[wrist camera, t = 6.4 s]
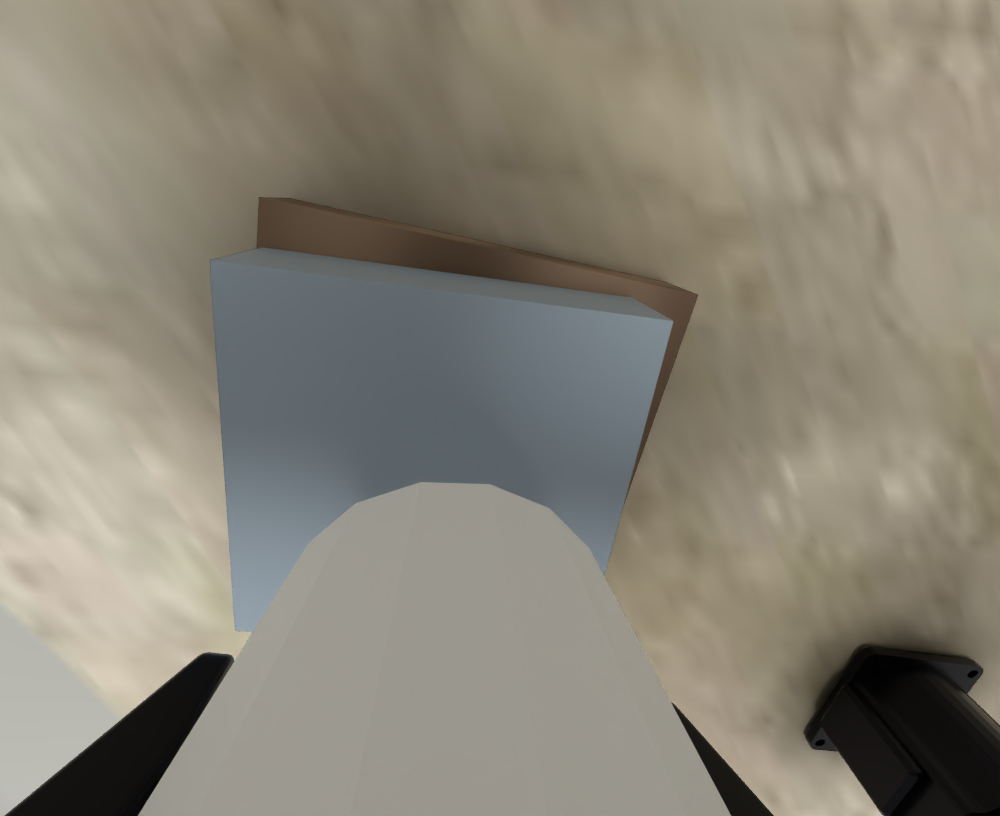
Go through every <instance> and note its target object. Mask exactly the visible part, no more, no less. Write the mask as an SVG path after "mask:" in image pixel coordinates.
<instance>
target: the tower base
mask: <svg viewBox="0 0 1000 816" xmlns="http://www.w3.org/2000/svg"><path fill="white" fill-rule="evenodd" d="M259 248H271V249H278V250H285V251H293V252H300V253H308V254H315V255H322V256H330V257H337V258H344V259H352V260H359V261H367V262H374V263H381V264H389V265H396V266H403V267H411V268H418V269H425V270H433V271H440V272H448V273H455V274H462V275H470V276H477V277H484V278H492V279H499V280H507V281H514V282H521V283H529V284H536V285H543V286H551V287H558V288H565V289H573V290H580V291H588V292H595V293H602V294H610V295H617V296H624V297H632V298H634V299H636V300H638V301H639V302H641V303H643V304H645V305H646V306H648V307H650V308H652V309H653V310H655V311H657V312H659V313H660V314H662V315H664V316H666V317H667V318H669V319H671V320H673V325H672V328H671V332H670V336H669V339H668V343H667V347H666V350H665V354H664V358H663V361H662V365H661V369H660V373H659V376H658V380H657V384H656V387H655V391H654V395H653V398H652V402H651V406H650V409H649V413H648V417H647V420H646V424H645V428H644V432H643V435H642V439H641V443H640V446H639V450H638V454H637V457H636V461H635V465H634V468H633V472H632V476H631V479H630V483H629V487H628V490H627V494H628V491H629V488H630V486H631V483H632V480H633V477H634V474H635V472H636V469H637V466H638V463H639V460H640V458H641V455H642V452H643V449H644V446H645V443H646V441H647V438H648V435H649V432H650V429H651V427H652V424H653V421H654V418H655V415H656V412H657V410H658V407H659V404H660V401H661V398H662V396H663V393H664V390H665V387H666V384H667V382H668V379H669V376H670V373H671V370H672V367H673V365H674V362H675V359H676V356H677V353H678V351H679V348H680V345H681V342H682V339H683V336H684V334H685V331H686V328H687V325H688V322H689V320H690V317H691V314H692V311H693V308H694V306H695V303H696V300H697V297H698V295H697V294H695V293H692V292H690V291H687V290H685V289H682V288H679V287H677V286H674V285H672V284H669V283H667V282H662V281H658V280H653V279H649V278H644V277H640V276H636V275H631V274H627V273H622V272H618V271H613V270H609V269H604V268H600V267H595V266H591V265H586V264H582V263H577V262H573V261H568V260H564V259H559V258H555V257H551V256H546V255H542V254H537V253H533V252H528V251H524V250H519V249H515V248H510V247H506V246H501V245H497V244H492V243H488V242H483V241H479V240H474V239H470V238H466V237H461V236H457V235H452V234H448V233H443V232H439V231H434V230H430V229H425V228H421V227H416V226H412V225H407V224H403V223H398V222H394V221H389V220H385V219H381V218H376V217H372V216H367V215H363V214H358V213H354V212H349V211H345V210H340V209H336V208H331V207H327V206H322V205H318V204H313V203H309V202H304V201H300V200H296V199H291V198H264V197H259V207H258V231H257V249H259ZM627 494H626V497H627ZM625 500H626V498H625ZM624 503H625V502H624Z"/></svg>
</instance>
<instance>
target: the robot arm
mask: <svg viewBox="0 0 1000 816" xmlns="http://www.w3.org/2000/svg"><path fill="white" fill-rule="evenodd" d="M233 663H234V658H233V656H232V655H229V654H220V653H210V652H208V653H203V654H201V655H199V656H198V657H197V658H195V659H194V660H193V661H192V662H190V663H189V664H188V665H187V666H186V667H184V668H183V669H182V670H181V671H180V672H178V673H177V674H176V675H175V676H173V677H172V678H171V679H170V680H169V681H167V682H166V683H165V684H164V685H163V686H161V687H160V688H159V689H158V690H157V691H155V692H154V693H153V694H152V695H150V696H149V697H148V698H147V699H146V700H144V701H143V702H142V703H141V704H140V705H138V706H137V707H136V708H135V709H133V710H132V711H131V712H130V713H129V714H127V715H126V716H125V717H124V718H123V719H121V720H120V721H119V722H118V723H117V724H115V725H114V726H113V727H112V728H111V729H109V730H108V731H107V732H106V733H104V734H103V735H102V736H101V737H100V738H98V739H97V740H96V741H95V742H93V743H92V744H91V745H90V746H89V747H87V748H86V749H85V750H84V751H83V752H81V753H80V754H79V755H78V756H77V757H75V758H74V759H73V760H72V761H70V762H69V763H68V764H67V765H66V766H64V767H63V768H62V769H61V770H59V771H58V772H57V773H56V774H55V775H53V776H52V777H51V778H50V779H49V780H47V781H46V782H45V783H44V784H43V785H41V786H40V787H39V788H38V789H36V790H35V791H34V792H33V793H32V794H31V795H29V796H28V797H27V798H26V799H24V800H23V801H22V802H21V803H19V804H18V805H17V806H16V807H15V808H13V809H12V810H11V811H10V812H9V813H7V814H6V815H5V816H138V815H139V813H140V812H141V810H142V808H143V807H144V805H145V804H146V802H147V800H148V799H149V797H150V796H151V794H152V792H153V791H154V789H155V788H156V786H157V784H158V783H159V781H160V780H161V778H162V776H163V775H164V773H165V772H166V770H167V768H168V767H169V765H170V764H171V762H172V760H173V759H174V757H175V756H176V754H177V752H178V751H179V749H180V748H181V746H182V744H183V743H184V741H185V740H186V738H187V736H188V735H189V733H190V732H191V730H192V728H193V727H194V725H195V724H196V722H197V720H198V719H199V717H200V716H201V714H202V712H203V711H204V709H205V708H206V706H207V704H208V703H209V701H210V700H211V698H212V696H213V695H214V693H215V692H216V690H217V688H218V687H219V685H220V684H221V682H222V680H223V679H224V677H225V676H226V674H227V672H228V671H229V669H230V668H231V666H232V664H233ZM982 673H983V669H982V668H981V667H980V666H979V665H978V664H977V663H976V662H975V661H974V660H971V659H964V658H956V657H948V656H940V655H932V654H923V653H915V652H907V651H899V650H891V649H883V648H875V647H867V648H864V649H862V650H861V651H860V652H859V653H858V654H857V655H856V657H855V659H854V660H853V662H852V663H851V665H850V666H849V668H848V670H847V671H846V673H845V674H844V676H843V677H842V679H841V681H840V682H839V684H838V685H837V687H836V688H835V690H834V692H833V693H832V695H831V696H830V698H829V699H828V701H827V703H826V704H825V706H824V707H823V709H822V710H821V712H820V714H819V715H818V717H817V718H816V720H815V721H814V723H813V725H812V726H811V728H810V729H809V731H808V732H807V734H806V740H807V742H808V743H809V745H810V746H811V747H812V748H813V749H816V750H827V751H838V752H839V753H840V755H841V756H842V757H843V759H844V760H845V762H846V763H847V765H848V766H849V768H850V769H851V771H852V772H853V773H854V775H855V776H856V778H857V779H858V781H859V782H860V784H861V785H862V787H863V788H864V789H865V791H866V792H867V794H868V795H869V797H870V798H871V800H872V801H873V803H874V804H875V805H876V807H877V808H878V810H879V811H880V813H881V814H882V815H883V816H1000V725H999V724H998V723H997V722H996V721H995V720H994V719H993V718H992V717H991V716H990V715H989V714H988V713H987V712H986V711H984V710H983V709H982V708H981V707H980V706H979V705H978V704H977V703H976V702H975V701H974V700H973V699H972V698H971V697H970V696H969V695H968V694H967V693H968V692H969V691H970V689H971V688H972V687H973V685H974V684H975V683H976V681H977V680H978V679H979V678H980V676H981V675H982ZM671 703H672V702H671ZM672 705H673V707H674V709H675V711H676V713H677V715H678V717H679V718H680V720H681V722H682V724H683V726H684V728H685V730H686V732H687V734H688V735H689V737H690V739H691V741H692V743H693V745H694V747H695V749H696V750H697V752H698V754H699V756H700V758H701V760H702V762H703V764H704V766H705V767H706V769H707V771H708V773H709V775H710V777H711V779H712V781H713V783H714V784H715V786H716V788H717V790H718V792H719V794H720V796H721V798H722V799H723V801H724V803H725V805H726V807H727V809H728V811H729V813H730V815H731V816H773V814H772V813H771V812H770V811H769V810H768V809H767V808H766V807H765V805H764V804H763V803H762V802H761V801H760V800H759V799H758V798H757V796H756V795H755V794H754V793H753V792H752V791H751V790H750V789H749V787H748V786H747V785H746V784H745V783H744V782H743V781H742V780H741V778H740V777H739V776H738V775H737V774H736V773H735V772H734V771H733V769H732V768H731V767H730V766H729V765H728V764H727V763H726V762H725V760H724V759H723V758H722V757H721V756H720V755H719V754H718V753H717V751H716V750H715V749H714V748H713V747H712V746H711V745H710V744H709V743H708V741H707V740H706V739H705V738H704V737H703V736H702V735H701V734H700V732H699V731H698V730H697V729H696V728H695V727H694V726H693V725H692V723H691V722H690V721H689V720H688V719H687V718H686V717H685V716H684V714H683V713H682V712H681V711H680V710H679V709H678V708H677V707H676V706H675V705H674V704H673V703H672Z"/></svg>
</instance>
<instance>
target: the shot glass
mask: <svg viewBox="0 0 1000 816" xmlns="http://www.w3.org/2000/svg"><path fill="white" fill-rule="evenodd" d="M138 816H731V815H730V813H729V811H728V809H727V807H726V805H725V803H724V801H723V799H722V798H721V796H720V794H719V792H718V790H717V788H716V786H715V784H714V783H713V781H712V779H711V777H710V775H709V773H708V771H707V769H706V767H705V766H704V764H703V762H702V760H701V758H700V756H699V754H698V752H697V750H696V749H695V747H694V745H693V743H692V741H691V739H690V737H689V735H688V734H687V732H686V730H685V728H684V726H683V724H682V722H681V720H680V718H679V717H678V715H677V713H676V711H675V709H674V707H673V705H672V703H671V701H670V700H669V698H668V696H667V694H666V692H665V690H664V688H663V686H662V685H661V683H660V681H659V679H658V677H657V675H656V673H655V671H654V669H653V668H652V666H651V664H650V662H649V660H648V658H647V656H646V654H645V653H644V651H643V649H642V647H641V645H640V643H639V641H638V639H637V637H636V636H635V634H634V632H633V630H632V628H631V626H630V624H629V622H628V620H627V619H626V617H625V615H624V613H623V611H622V609H621V607H620V605H619V604H618V602H617V600H616V598H615V596H614V594H613V592H612V590H611V588H610V587H609V585H608V583H607V581H606V579H605V577H604V575H603V573H602V571H601V570H600V568H599V566H598V564H597V562H596V560H595V558H594V556H593V555H592V553H591V551H590V549H589V547H588V546H587V545H586V544H585V543H584V542H583V541H582V540H581V539H580V538H579V537H578V536H577V535H576V534H575V533H574V532H573V531H572V530H571V529H570V528H569V527H568V526H567V525H566V524H565V523H564V522H563V521H562V520H561V519H560V518H559V517H558V516H557V515H556V514H555V513H554V512H553V511H552V510H551V509H550V508H548V507H545V506H543V505H540V504H538V503H535V502H533V501H530V500H528V499H525V498H523V497H520V496H518V495H516V494H513V493H511V492H508V491H506V490H503V489H501V488H498V487H496V486H493V485H491V484H468V483H435V482H419V483H416V484H413V485H410V486H407V487H404V488H401V489H398V490H395V491H392V492H389V493H386V494H382V495H379V496H376V497H373V498H370V499H367V500H364V501H361V502H358V503H355V504H354V505H353V506H352V507H351V508H349V509H348V510H347V511H346V512H345V513H343V514H342V515H341V516H340V517H339V518H337V519H336V520H335V521H334V522H333V523H332V524H330V525H329V526H328V527H327V528H326V529H324V530H323V531H322V532H321V533H320V534H318V535H317V536H316V537H315V538H314V539H312V540H311V541H310V542H309V543H308V544H307V546H306V548H305V549H304V551H303V552H302V554H301V556H300V557H299V559H298V560H297V562H296V564H295V565H294V567H293V568H292V570H291V572H290V573H289V575H288V576H287V578H286V580H285V581H284V583H283V584H282V586H281V588H280V589H279V591H278V592H277V594H276V596H275V597H274V599H273V600H272V602H271V604H270V605H269V607H268V608H267V610H266V612H265V613H264V615H263V616H262V618H261V620H260V621H259V623H258V624H257V626H256V628H255V629H254V631H253V632H252V634H251V636H250V637H249V639H248V640H247V642H246V644H245V645H244V647H243V648H242V650H241V652H240V653H239V655H238V656H237V658H236V660H235V661H234V663H233V664H232V666H231V668H230V669H229V671H228V672H227V674H226V676H225V677H224V679H223V680H222V682H221V684H220V685H219V687H218V688H217V690H216V692H215V693H214V695H213V696H212V698H211V700H210V701H209V703H208V704H207V706H206V708H205V709H204V711H203V712H202V714H201V716H200V717H199V719H198V720H197V722H196V724H195V725H194V727H193V728H192V730H191V732H190V733H189V735H188V736H187V738H186V740H185V741H184V743H183V744H182V746H181V748H180V749H179V751H178V752H177V754H176V756H175V757H174V759H173V760H172V762H171V764H170V765H169V767H168V768H167V770H166V772H165V773H164V775H163V776H162V778H161V780H160V781H159V783H158V784H157V786H156V788H155V789H154V791H153V792H152V794H151V796H150V797H149V799H148V800H147V802H146V804H145V805H144V807H143V808H142V810H141V812H140V813H139V815H138Z"/></svg>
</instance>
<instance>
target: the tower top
mask: <svg viewBox="0 0 1000 816" xmlns="http://www.w3.org/2000/svg"><path fill="white" fill-rule="evenodd" d="M210 272H211V287H212V301H213V316H214V331H215V345H216V360H217V375H218V389H219V404H220V418H221V433H222V448H223V462H224V477H225V492H226V506H227V521H228V535H229V550H230V565H231V579H232V594H233V609H234V623H235V631H246V632H253V631H254V629H255V628H256V626H257V624H258V623H259V621H260V620H261V618H262V616H263V615H264V613H265V612H266V610H267V608H268V607H269V605H270V604H271V602H272V600H273V599H274V597H275V596H276V594H277V592H278V591H279V589H280V588H281V586H282V584H283V583H284V581H285V580H286V578H287V576H288V575H289V573H290V572H291V570H292V568H293V567H294V565H295V564H296V562H297V560H298V559H299V557H300V556H301V554H302V552H303V551H304V549H305V548H306V546H307V544H308V543H309V542H310V541H311V540H312V539H314V538H315V537H316V536H317V535H318V534H320V533H321V532H322V531H323V530H324V529H326V528H327V527H328V526H329V525H330V524H332V523H333V522H334V521H335V520H336V519H337V518H339V517H340V516H341V515H342V514H343V513H345V512H346V511H347V510H348V509H349V508H351V507H352V506H353V505H354V504H355V503H358V502H361V501H364V500H367V499H370V498H373V497H376V496H379V495H382V494H386V493H389V492H392V491H395V490H398V489H401V488H404V487H407V486H410V485H413V484H416V483H419V482H435V483H468V484H491V485H493V486H496V487H498V488H501V489H503V490H506V491H508V492H511V493H513V494H516V495H518V496H520V497H523V498H525V499H528V500H530V501H533V502H535V503H538V504H540V505H543V506H545V507H548V508H550V509H551V510H552V511H553V512H554V513H555V514H556V515H557V516H558V517H559V518H560V519H561V520H562V521H563V522H564V523H565V524H566V525H567V526H568V527H569V528H570V529H571V530H572V531H573V532H574V533H575V534H576V535H577V536H578V537H579V538H580V539H581V540H582V541H583V542H584V543H585V544H586V545H587V546H588V547H589V549H590V551H591V553H592V555H593V556H594V558H595V560H596V562H597V564H598V566H599V568H600V570H601V571H602V573H603V575H605V572H606V568H607V564H608V561H609V557H610V553H611V549H612V546H613V542H614V538H615V535H616V531H617V527H618V524H619V520H620V516H621V513H622V509H623V505H624V502H625V498H626V494H627V490H628V487H629V483H630V479H631V476H632V472H633V468H634V465H635V461H636V457H637V454H638V450H639V446H640V443H641V439H642V435H643V432H644V428H645V424H646V420H647V417H648V413H649V409H650V406H651V402H652V398H653V395H654V391H655V387H656V384H657V380H658V376H659V373H660V369H661V365H662V361H663V358H664V354H665V350H666V347H667V343H668V339H669V336H670V332H671V328H672V325H673V320H671V319H669V318H667V317H666V316H664V315H662V314H660V313H659V312H657V311H655V310H653V309H652V308H650V307H648V306H646V305H645V304H643V303H641V302H639V301H638V300H636V299H634V298H632V297H624V296H617V295H610V294H602V293H595V292H588V291H580V290H573V289H565V288H558V287H551V286H543V285H536V284H529V283H521V282H514V281H507V280H499V279H492V278H484V277H477V276H470V275H462V274H455V273H448V272H440V271H433V270H425V269H418V268H411V267H403V266H396V265H389V264H381V263H374V262H367V261H359V260H352V259H344V258H337V257H330V256H322V255H315V254H308V253H300V252H293V251H285V250H278V249H271V248H259V249H254V250H250V251H246V252H242V253H237V254H233V255H229V256H225V257H220V258H216V259H212V260H210Z"/></svg>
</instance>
